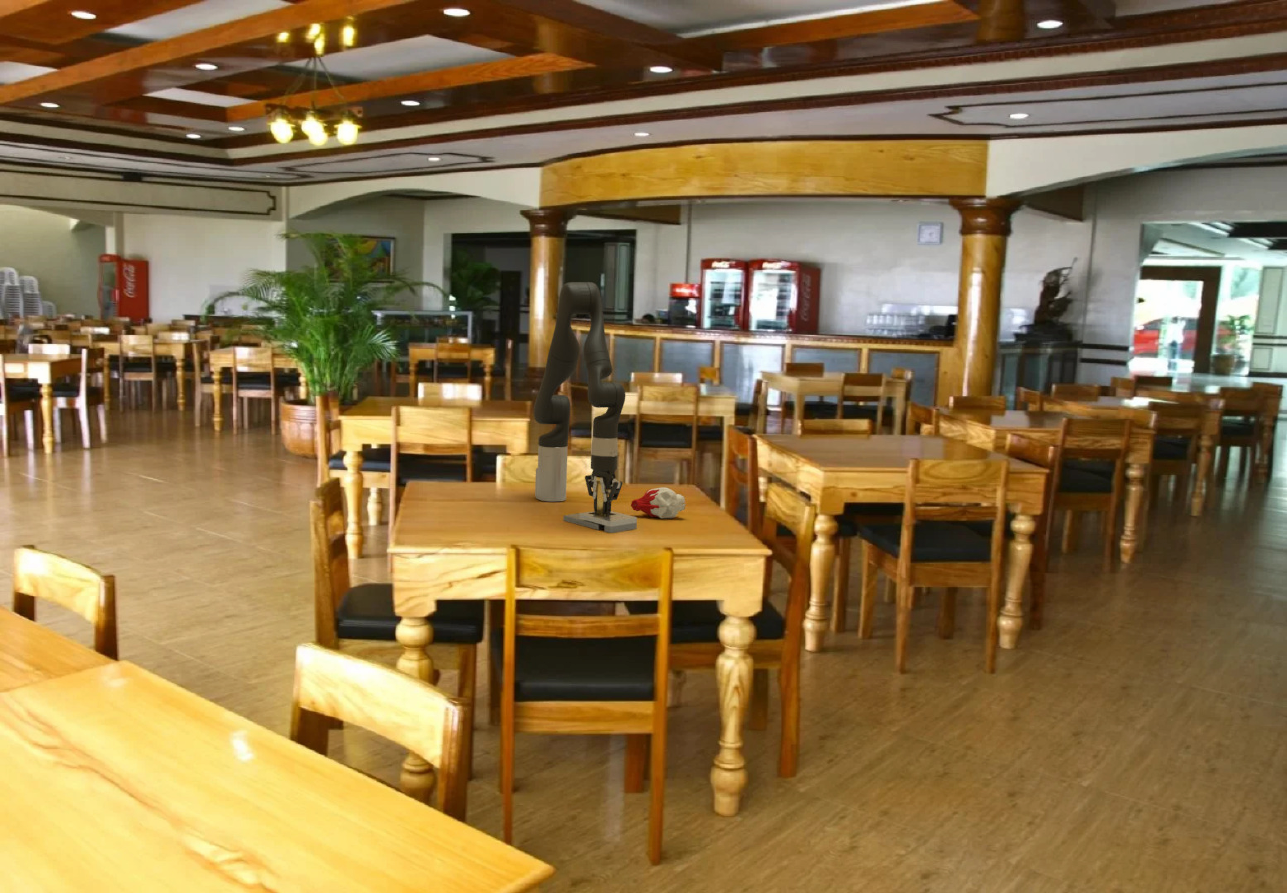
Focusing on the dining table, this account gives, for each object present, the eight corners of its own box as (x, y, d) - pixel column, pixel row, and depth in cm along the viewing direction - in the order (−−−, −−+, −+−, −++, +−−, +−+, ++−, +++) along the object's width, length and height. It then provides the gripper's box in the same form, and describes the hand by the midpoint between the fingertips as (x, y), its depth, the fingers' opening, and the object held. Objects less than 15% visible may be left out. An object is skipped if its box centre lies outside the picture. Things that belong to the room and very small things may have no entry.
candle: (687, 518, 318) (638, 525, 315) (675, 510, 329) (628, 517, 325) (685, 488, 317) (635, 495, 313) (673, 481, 327) (626, 488, 324)
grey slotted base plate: (563, 520, 310) (563, 509, 310) (589, 516, 317) (589, 505, 317) (610, 533, 296) (610, 521, 296) (636, 528, 303) (636, 517, 303)
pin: (591, 521, 306) (593, 476, 304) (602, 519, 309) (603, 475, 307) (601, 524, 303) (603, 478, 301) (612, 522, 306) (613, 477, 304)
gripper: (577, 450, 306) (575, 510, 308) (611, 457, 296) (609, 518, 298) (597, 448, 311) (595, 507, 313) (631, 455, 301) (628, 515, 303)
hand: (602, 512), depth 306 cm, fingers closed on pin, 3 cm apart
